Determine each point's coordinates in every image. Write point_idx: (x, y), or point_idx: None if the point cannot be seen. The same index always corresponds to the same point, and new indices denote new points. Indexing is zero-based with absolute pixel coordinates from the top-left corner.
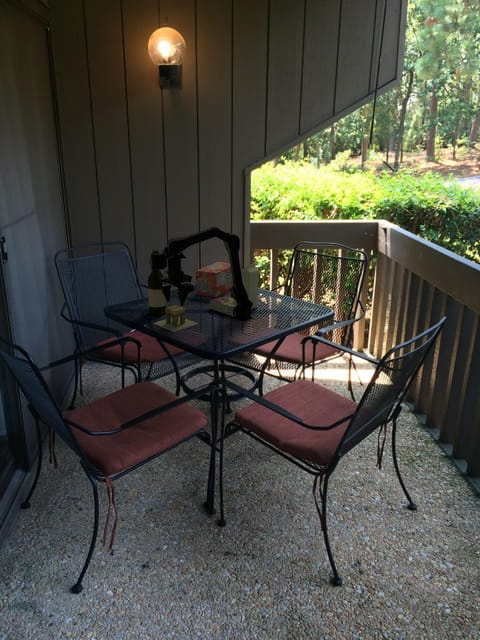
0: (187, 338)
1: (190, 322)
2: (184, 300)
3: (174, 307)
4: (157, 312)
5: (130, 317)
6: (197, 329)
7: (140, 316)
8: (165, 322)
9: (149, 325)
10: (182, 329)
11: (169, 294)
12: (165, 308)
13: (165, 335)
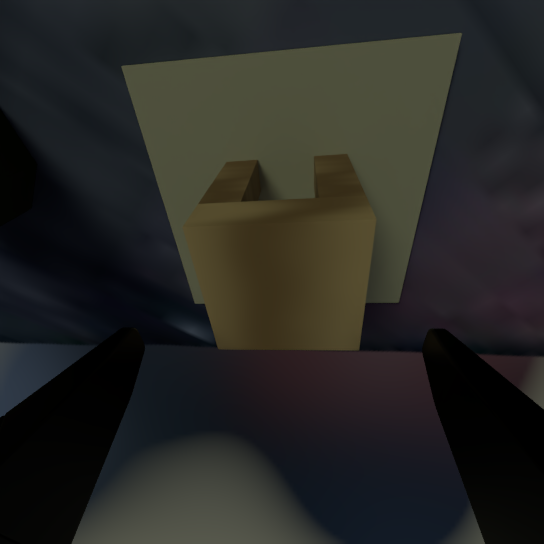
0: (537, 302)
1: (370, 94)
2: (529, 418)
3: (253, 287)
4: (13, 198)
5: (32, 315)
6: (521, 144)
7: (25, 274)
8: None
9: (203, 318)
10: (410, 238)
11: (67, 415)
12: (220, 346)
13: (388, 344)
